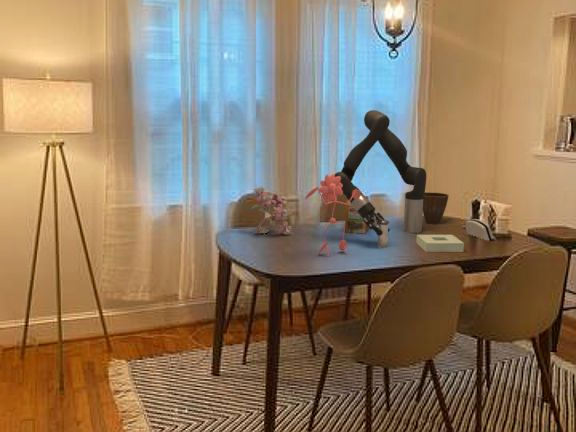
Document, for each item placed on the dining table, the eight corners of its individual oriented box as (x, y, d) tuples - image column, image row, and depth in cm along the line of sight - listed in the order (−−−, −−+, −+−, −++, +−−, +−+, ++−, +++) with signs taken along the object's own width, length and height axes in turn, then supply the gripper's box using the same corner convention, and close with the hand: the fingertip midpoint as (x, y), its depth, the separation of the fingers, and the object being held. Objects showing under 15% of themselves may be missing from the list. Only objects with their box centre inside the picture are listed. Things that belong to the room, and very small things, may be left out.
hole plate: (416, 242, 281) (416, 234, 280) (451, 242, 282) (452, 234, 281) (425, 251, 264) (426, 243, 263) (463, 251, 265) (464, 243, 264)
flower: (262, 239, 278) (284, 191, 279) (234, 226, 294) (254, 181, 295) (290, 251, 292) (310, 204, 293) (262, 238, 308) (281, 194, 309)
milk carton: (344, 233, 301) (345, 196, 297) (349, 229, 310) (350, 193, 307) (365, 234, 297) (366, 197, 294) (369, 230, 307) (370, 194, 304)
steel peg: (376, 245, 276) (377, 219, 274) (386, 245, 276) (387, 219, 274) (378, 247, 271) (379, 221, 269) (388, 247, 272) (389, 222, 269)
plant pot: (441, 220, 336) (443, 192, 333) (450, 225, 322) (452, 196, 318) (416, 220, 335) (417, 192, 332) (423, 225, 321) (425, 196, 318)
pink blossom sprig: (363, 252, 261) (364, 173, 255) (312, 259, 249) (313, 177, 243) (344, 246, 275) (345, 171, 269) (295, 252, 263) (295, 173, 257)
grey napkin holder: (496, 240, 288) (491, 221, 285) (488, 244, 287) (483, 225, 284) (475, 233, 304) (470, 215, 301) (467, 236, 303) (463, 218, 300)
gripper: (361, 203, 268) (384, 231, 264) (375, 199, 280) (396, 225, 276) (351, 213, 272) (372, 241, 268) (364, 209, 284) (385, 235, 280)
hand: (384, 233), depth 272 cm, fingers open, 8 cm apart
